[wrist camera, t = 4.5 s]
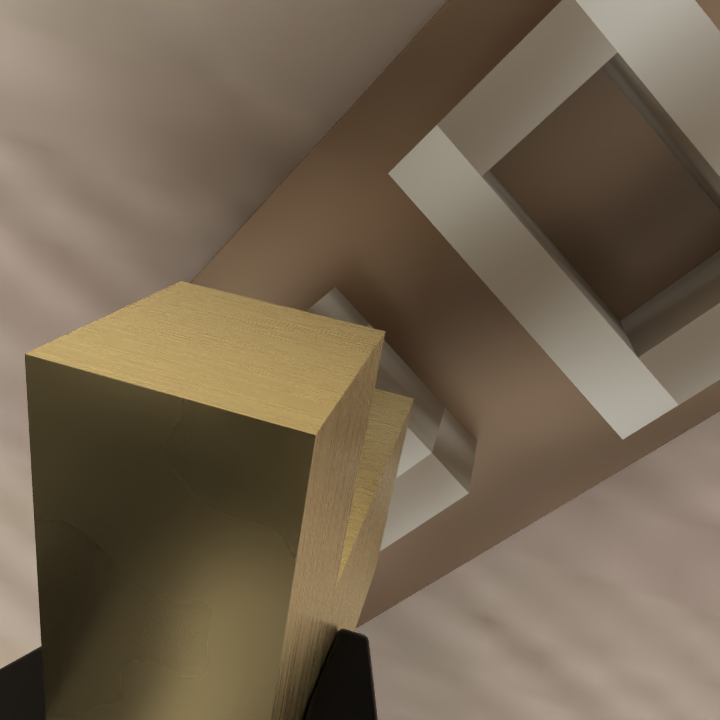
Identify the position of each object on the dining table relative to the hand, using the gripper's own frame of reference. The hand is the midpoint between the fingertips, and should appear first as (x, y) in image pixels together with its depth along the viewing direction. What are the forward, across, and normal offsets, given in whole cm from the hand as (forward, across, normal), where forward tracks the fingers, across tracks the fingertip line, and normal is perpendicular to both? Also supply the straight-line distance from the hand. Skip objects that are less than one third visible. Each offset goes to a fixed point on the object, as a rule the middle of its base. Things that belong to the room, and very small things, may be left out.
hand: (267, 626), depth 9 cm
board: (+12, -1, 0) cm, 12 cm away
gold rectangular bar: (+4, 0, 0) cm, 4 cm away
